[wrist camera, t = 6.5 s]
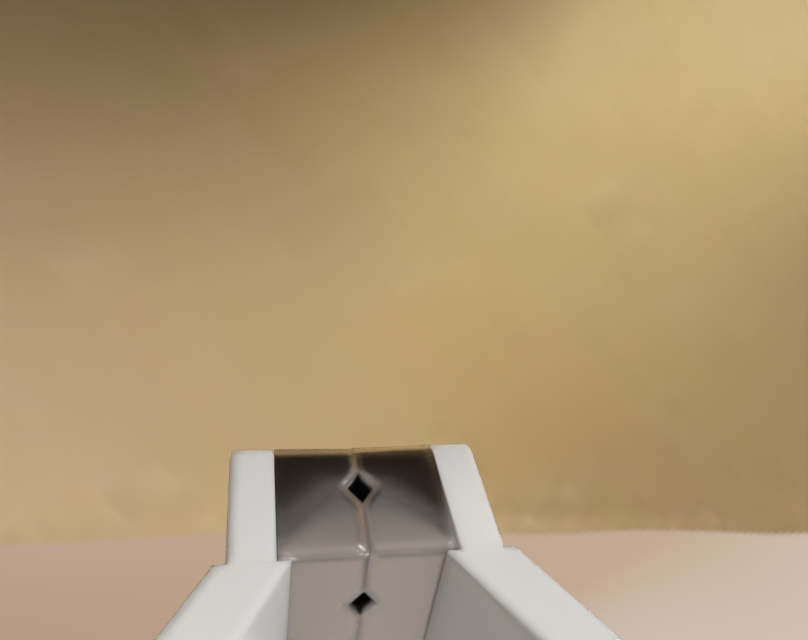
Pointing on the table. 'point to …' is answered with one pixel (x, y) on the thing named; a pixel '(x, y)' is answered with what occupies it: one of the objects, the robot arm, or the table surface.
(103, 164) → the table surface
